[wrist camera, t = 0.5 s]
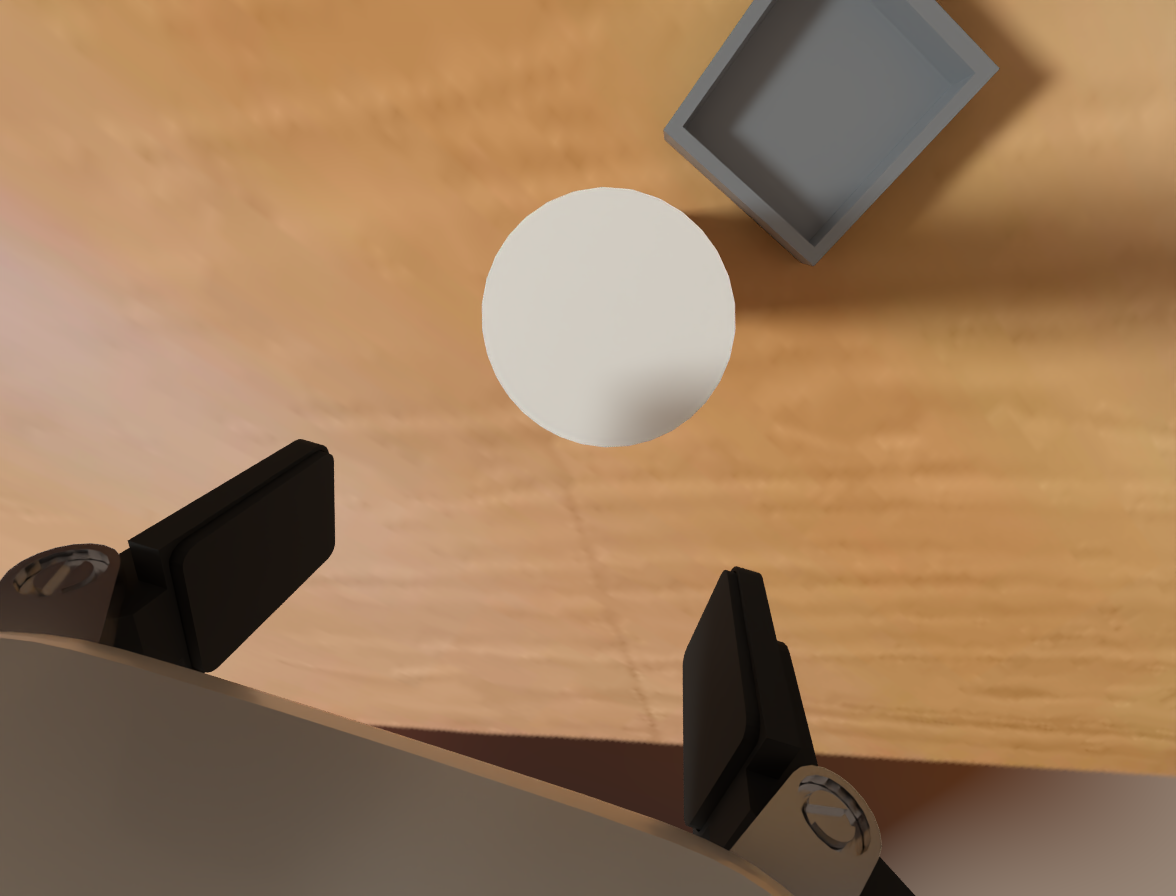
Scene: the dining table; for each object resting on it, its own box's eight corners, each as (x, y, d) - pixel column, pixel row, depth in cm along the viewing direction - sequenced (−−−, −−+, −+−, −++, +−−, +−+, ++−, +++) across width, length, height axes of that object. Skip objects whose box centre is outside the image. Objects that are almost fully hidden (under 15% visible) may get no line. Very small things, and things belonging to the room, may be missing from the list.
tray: (812, -72, 28) (830, -110, 25) (964, 85, 29) (999, 68, 26) (664, 139, 33) (663, 129, 30) (800, 262, 35) (813, 266, 31)
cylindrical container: (717, 266, 36) (793, 332, 13) (645, 336, 38) (605, 489, 16) (648, 190, 34) (601, 117, 12) (580, 268, 37) (434, 330, 15)
